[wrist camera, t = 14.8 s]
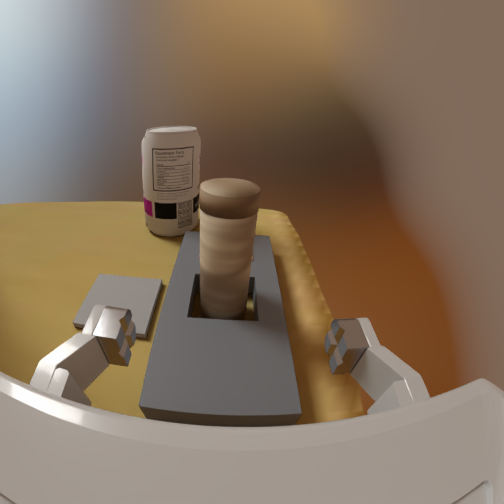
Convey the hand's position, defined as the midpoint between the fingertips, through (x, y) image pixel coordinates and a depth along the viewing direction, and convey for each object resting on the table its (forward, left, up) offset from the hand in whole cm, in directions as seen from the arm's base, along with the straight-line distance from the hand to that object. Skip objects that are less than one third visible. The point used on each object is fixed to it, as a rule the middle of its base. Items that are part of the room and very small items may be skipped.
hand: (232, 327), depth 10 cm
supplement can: (+14, +28, -12) cm, 33 cm away
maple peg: (+8, +9, -12) cm, 17 cm away
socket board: (+8, +9, -12) cm, 17 cm away
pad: (0, +17, -12) cm, 20 cm away
